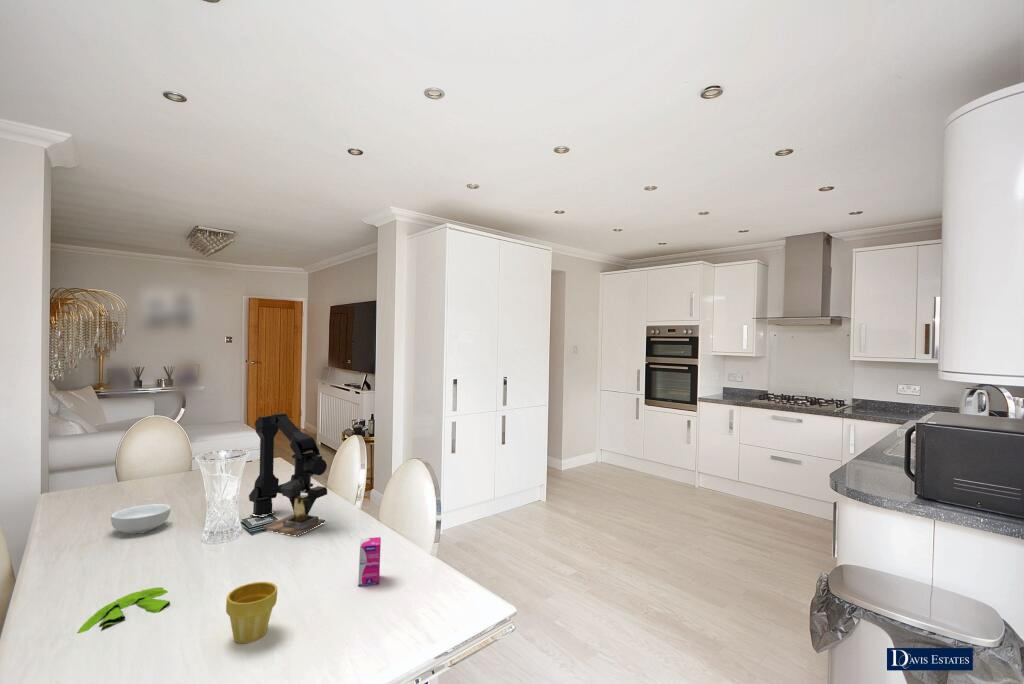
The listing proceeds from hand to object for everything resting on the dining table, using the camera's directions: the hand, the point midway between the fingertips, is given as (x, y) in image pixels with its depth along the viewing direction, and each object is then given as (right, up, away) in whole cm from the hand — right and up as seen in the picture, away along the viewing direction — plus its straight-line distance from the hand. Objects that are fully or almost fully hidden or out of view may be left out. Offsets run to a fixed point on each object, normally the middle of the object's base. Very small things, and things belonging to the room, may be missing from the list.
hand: (301, 513), depth 172 cm
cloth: (-17, -4, -57) cm, 59 cm away
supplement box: (+38, -5, -39) cm, 55 cm away
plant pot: (+18, -4, -65) cm, 68 cm away
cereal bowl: (-56, -5, -5) cm, 57 cm away
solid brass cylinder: (0, -3, 0) cm, 3 cm away
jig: (-3, -6, +1) cm, 6 cm away
